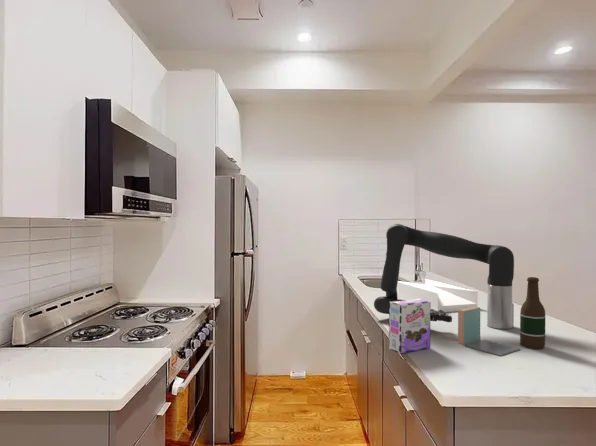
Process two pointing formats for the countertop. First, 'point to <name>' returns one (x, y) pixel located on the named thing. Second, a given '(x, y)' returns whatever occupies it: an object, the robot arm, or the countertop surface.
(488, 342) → the slate mat
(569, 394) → the countertop surface
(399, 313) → the candy box
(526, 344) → the beer bottle
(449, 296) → the building model
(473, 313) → the tile
